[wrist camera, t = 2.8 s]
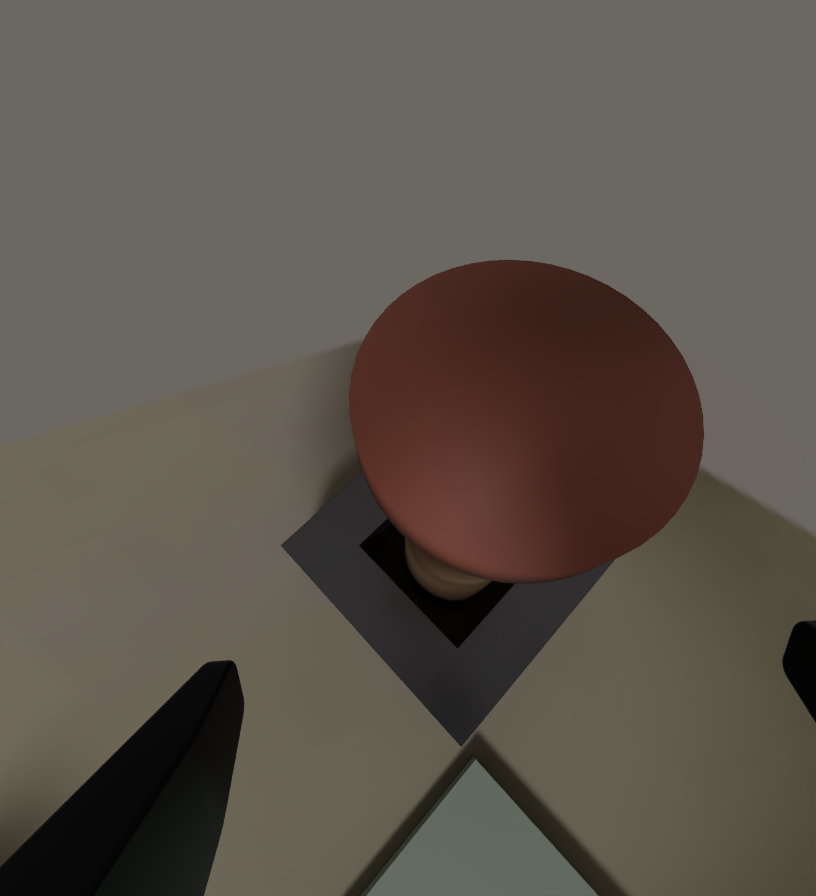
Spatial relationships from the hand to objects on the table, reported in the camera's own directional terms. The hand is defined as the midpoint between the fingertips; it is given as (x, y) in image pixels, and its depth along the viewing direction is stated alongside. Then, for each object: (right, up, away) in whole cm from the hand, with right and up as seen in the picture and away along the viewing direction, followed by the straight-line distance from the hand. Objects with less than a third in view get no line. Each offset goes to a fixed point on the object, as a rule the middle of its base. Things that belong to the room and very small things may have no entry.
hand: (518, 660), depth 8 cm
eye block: (0, -1, +11) cm, 11 cm away
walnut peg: (0, -1, +11) cm, 11 cm away
